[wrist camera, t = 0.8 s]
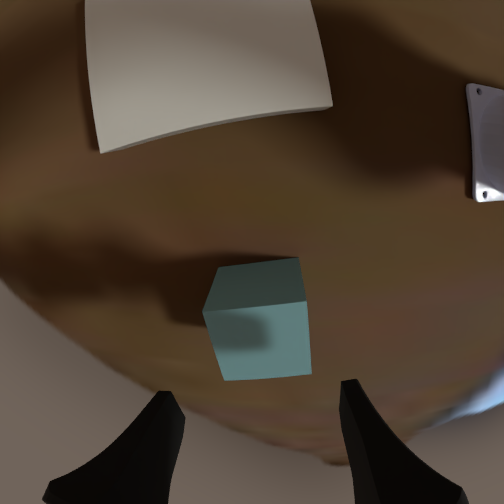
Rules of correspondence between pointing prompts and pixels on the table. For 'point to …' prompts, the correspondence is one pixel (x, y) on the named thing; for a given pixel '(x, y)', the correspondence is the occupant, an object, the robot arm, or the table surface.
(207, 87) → the grey plinth
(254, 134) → the table surface
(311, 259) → the table surface
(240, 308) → the teal cube
